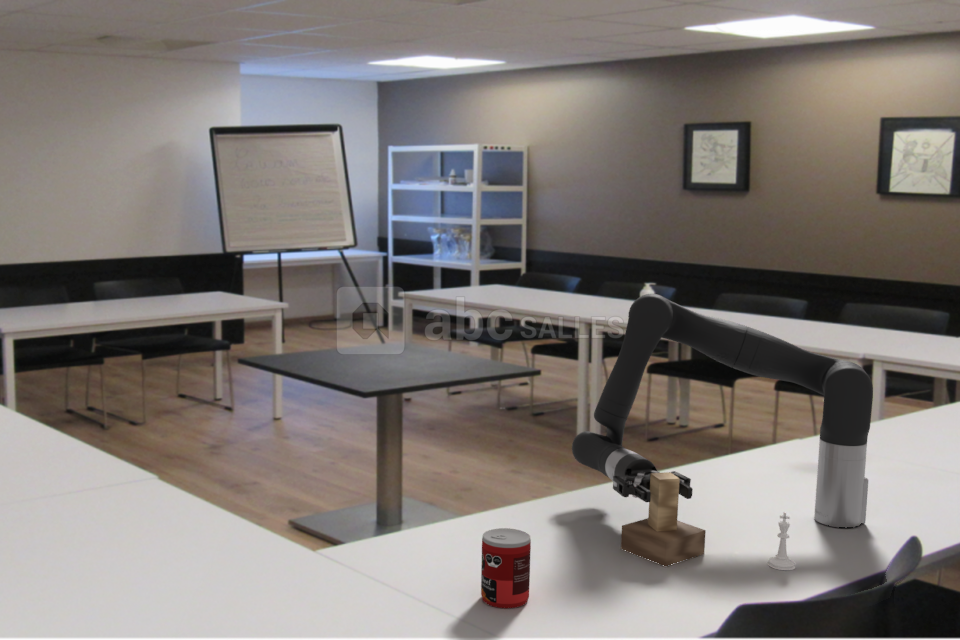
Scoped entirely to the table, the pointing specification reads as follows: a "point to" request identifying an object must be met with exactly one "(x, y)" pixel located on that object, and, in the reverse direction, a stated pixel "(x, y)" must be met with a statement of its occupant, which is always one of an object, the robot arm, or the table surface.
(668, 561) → the walnut block
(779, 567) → the chess piece
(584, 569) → the table surface
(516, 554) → the canned food
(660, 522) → the oak block
